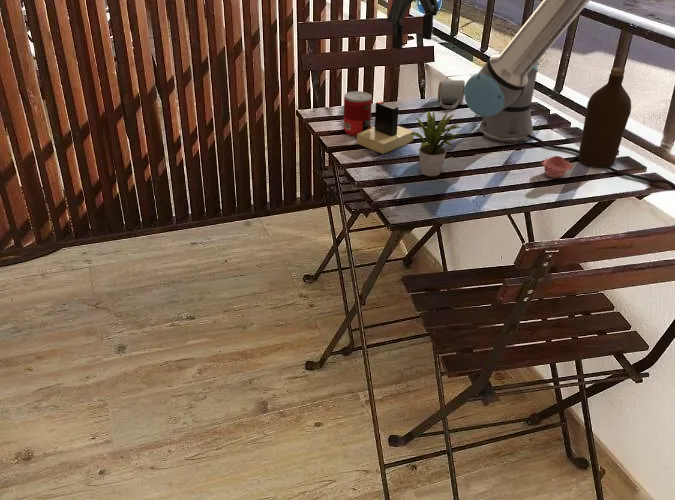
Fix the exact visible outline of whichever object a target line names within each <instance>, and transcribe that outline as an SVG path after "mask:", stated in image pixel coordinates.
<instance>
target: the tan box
mask: <svg viewBox="0 0 675 500" xmlns="http://www.w3.org/2000/svg"><path fill="white" fill-rule="evenodd" d="M412 132H415V131H413V130H411V129H408V128H406V127H402V126H400V125H397V135H394V136H392V137H391V136H389V135H386V134H384V133H381V132H378V131H376V130H375V126H371V129H368V130H366V131H363V132H361V133H358V134H357V136H356V144H357V145H359V146H362V147H364V148H367V149H369V150H371V151H375V152H377V153H380V154H382V155H384V154H386V153H389V152H391V151H393V150H395V149H398V148H400V147H403V146H406V145H407V144H411V143H412V142H414V135H412V134H410V133H412Z"/></svg>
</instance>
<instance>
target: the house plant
mask: <svg viewBox="0 0 675 500" xmlns="http://www.w3.org/2000/svg"><path fill="white" fill-rule="evenodd" d="M448 113H449V111H447V112H446V113H445V114H444V116H443V117H442V118H441V120H439V122H438V124H437V121H436V117H435V115H436V114H435V112H434V110H432V114H431V111H430V110H429V109H428V110H427V113H426V126H425V124H424V123H423V121H421V120H420V118H417V117H415V120H417V122H418V124H419V125H420V126H419V125H417V127H418V128H419V129H420V131H421V132H422V133H423V135H424V137H423V135H421V133H419V132H416V131H414V132H412V133H410V134H412V135H414V136H415V137H417V138H418V139H420V140H421V142H420V143H421V144H420V146H419V148H418V155H419V157H418V158H419V165H420V173H421V174H422V175H423V176H426V177H437V176H440V174H441V173H442V169H443V166H444V162H445V158H446V155H447V152H448V151H447V149H446V147H444V146H445V145H447V146H449V147H450V148H453V144H452V142H450V141H453V140H457V136H458V137H459V134H453V133H450V131H451V130H455V129H463V128H464V126H461V125H462V124H463V125H464V122H457V123H454V124H451V125H450V126H448V124H449V123H450V120H451V119H452V118H453V117H454V115H455V114H451V115H449V116H448ZM447 116H448V117H447ZM414 136H413V137H414Z"/></svg>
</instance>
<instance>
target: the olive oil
mask: <svg viewBox="0 0 675 500" xmlns="http://www.w3.org/2000/svg"><path fill="white" fill-rule="evenodd" d="M625 71H626V70H625V69H624V68H622V67H611V70H610V73H609V75H608V81H607V83H606V84H605V85H603V86H602V87H599V89H598V90H596V91H595V92H594V93H592V95H590V97H589V100H588V102H587V105H586V110H585V116H584V123H583V128H582V133H581V140H580V145H579V149H578V150H579V154H578V153H577V154H578V155H577V160H578V161H579V162H580V163H581V164H583V165H585V166H587V167H591V168H597V169H605V168H604V165H608V166H610V167H613V166H614V165H615V162H616V159H617V155H618V152H619V149H620V145H621V142H622V139H623V137H624V133H625V130H626V127H627V124H628V121H629V118H630V116H631V111H632V100H631V97H630V96H629V94H628V92H627V91H626V89H625V87H624V86H623V85H622V84H623V81H624V77H625V75H624V74H625Z"/></svg>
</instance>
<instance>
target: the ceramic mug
mask: <svg viewBox="0 0 675 500" xmlns="http://www.w3.org/2000/svg"><path fill="white" fill-rule="evenodd" d="M465 85H466V82H465V80H464V79H456V80H455V79H445V80H440V82H439V83H438V89H437V101H438V102H439V105H440V107H441V108H442V109H444V110H454V109H456V108H457V107H458V105H459V106H462V105H463V103H464V100H465V95H464V88H465ZM446 104H449V105H446Z"/></svg>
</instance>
